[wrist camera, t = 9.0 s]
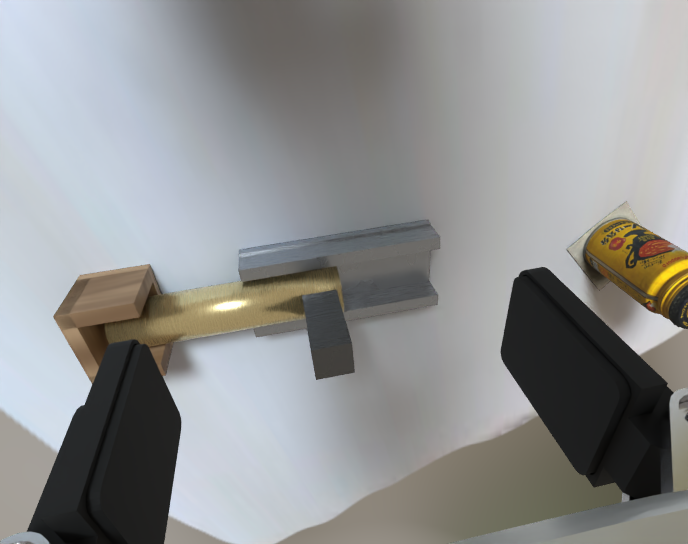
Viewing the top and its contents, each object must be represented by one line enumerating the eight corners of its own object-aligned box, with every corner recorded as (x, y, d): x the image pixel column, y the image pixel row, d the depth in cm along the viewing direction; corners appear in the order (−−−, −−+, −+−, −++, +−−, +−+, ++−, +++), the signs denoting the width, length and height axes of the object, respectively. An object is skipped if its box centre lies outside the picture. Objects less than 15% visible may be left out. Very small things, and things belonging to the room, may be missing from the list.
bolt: (113, 292, 38) (66, 388, 29) (333, 256, 40) (357, 334, 31) (131, 330, 41) (93, 429, 31) (337, 294, 43) (361, 377, 33)
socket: (79, 275, 38) (53, 316, 33) (149, 264, 38) (133, 303, 33) (113, 342, 42) (94, 388, 37) (176, 331, 43) (165, 375, 38)
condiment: (625, 200, 44) (734, 258, 34) (653, 247, 48) (758, 311, 38) (565, 247, 46) (652, 316, 36) (597, 289, 50) (683, 360, 40)
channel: (239, 249, 39) (237, 268, 36) (427, 219, 41) (440, 235, 38) (256, 317, 44) (256, 339, 41) (426, 287, 45) (437, 306, 43)
